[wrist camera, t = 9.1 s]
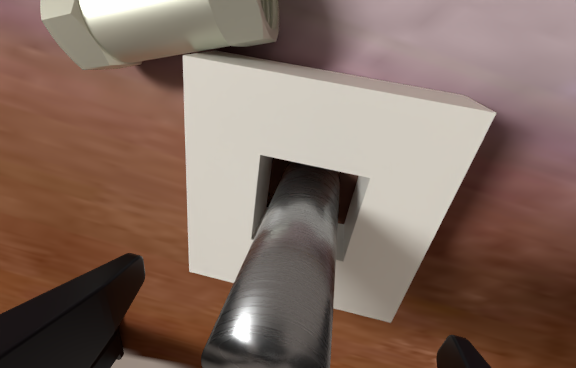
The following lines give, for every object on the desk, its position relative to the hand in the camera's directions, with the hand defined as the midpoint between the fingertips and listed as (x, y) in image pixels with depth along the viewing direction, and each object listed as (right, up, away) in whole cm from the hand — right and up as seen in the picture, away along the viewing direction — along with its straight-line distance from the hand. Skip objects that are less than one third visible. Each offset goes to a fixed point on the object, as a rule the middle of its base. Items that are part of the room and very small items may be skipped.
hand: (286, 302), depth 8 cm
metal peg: (+1, +4, +7) cm, 8 cm away
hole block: (+1, +4, +7) cm, 8 cm away
